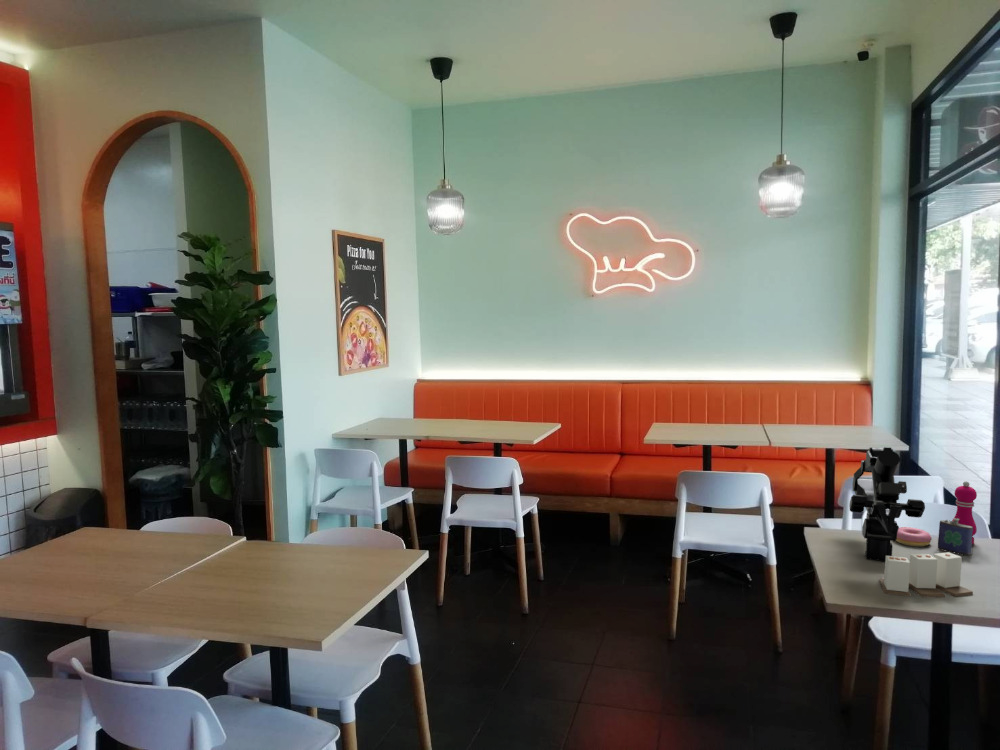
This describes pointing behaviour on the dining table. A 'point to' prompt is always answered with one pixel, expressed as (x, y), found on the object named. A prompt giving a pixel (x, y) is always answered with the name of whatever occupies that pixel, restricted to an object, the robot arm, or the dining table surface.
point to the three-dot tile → (897, 573)
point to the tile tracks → (930, 591)
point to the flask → (955, 537)
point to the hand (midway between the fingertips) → (889, 532)
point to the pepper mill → (965, 506)
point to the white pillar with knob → (948, 569)
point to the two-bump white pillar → (923, 571)
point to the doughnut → (913, 536)
